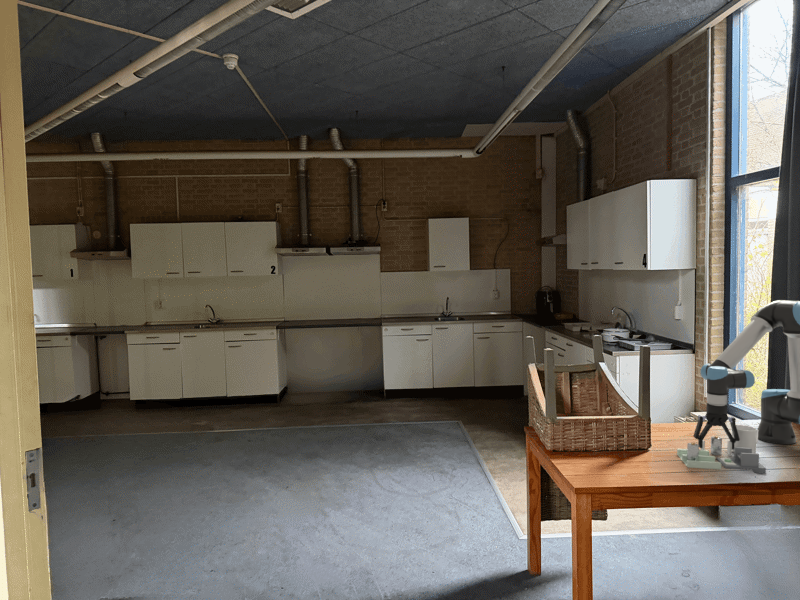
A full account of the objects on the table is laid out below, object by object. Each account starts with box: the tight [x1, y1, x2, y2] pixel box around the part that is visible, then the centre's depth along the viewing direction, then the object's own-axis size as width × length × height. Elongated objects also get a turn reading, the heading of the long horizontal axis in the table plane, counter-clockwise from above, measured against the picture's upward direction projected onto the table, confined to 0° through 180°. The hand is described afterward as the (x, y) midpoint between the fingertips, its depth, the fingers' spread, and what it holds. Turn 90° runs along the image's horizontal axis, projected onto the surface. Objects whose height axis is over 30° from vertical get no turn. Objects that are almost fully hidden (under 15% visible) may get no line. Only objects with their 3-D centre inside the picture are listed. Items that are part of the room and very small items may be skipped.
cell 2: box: [710, 435, 723, 457], centre depth 228 cm, size 4×4×9 cm
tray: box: [676, 448, 722, 470], centre depth 219 cm, size 12×15×4 cm
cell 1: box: [686, 442, 700, 461], centre depth 217 cm, size 4×4×9 cm
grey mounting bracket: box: [716, 447, 767, 474], centre depth 215 cm, size 14×10×7 cm
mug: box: [731, 424, 759, 453], centre depth 231 cm, size 12×9×11 cm
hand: (715, 456), depth 228 cm, fingers open, 10 cm apart
